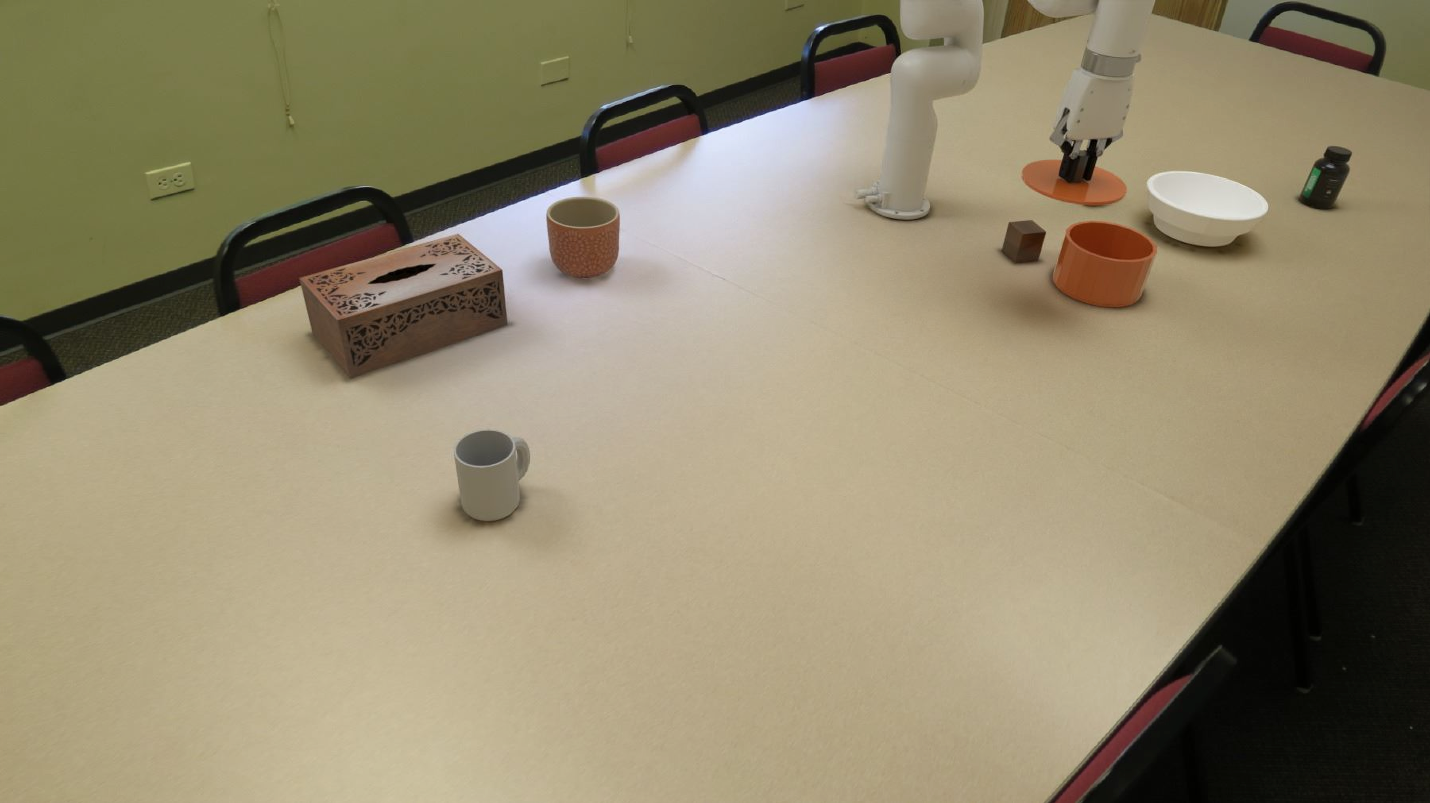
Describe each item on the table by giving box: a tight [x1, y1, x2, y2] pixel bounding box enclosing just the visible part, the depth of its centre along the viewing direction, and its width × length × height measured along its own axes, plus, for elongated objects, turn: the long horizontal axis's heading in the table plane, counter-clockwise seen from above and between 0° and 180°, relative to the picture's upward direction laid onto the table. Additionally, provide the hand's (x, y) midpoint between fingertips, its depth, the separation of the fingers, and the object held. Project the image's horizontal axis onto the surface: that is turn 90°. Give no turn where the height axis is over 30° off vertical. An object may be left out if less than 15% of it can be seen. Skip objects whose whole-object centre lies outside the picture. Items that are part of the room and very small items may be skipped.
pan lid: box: [1020, 149, 1128, 206], centre depth 153 cm, size 16×16×6 cm
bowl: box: [1146, 170, 1269, 248], centre depth 191 cm, size 22×22×8 cm
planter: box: [545, 196, 621, 279], centre depth 165 cm, size 12×12×11 cm
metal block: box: [1001, 219, 1047, 264], centre depth 179 cm, size 5×5×6 cm
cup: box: [453, 428, 531, 522], centre depth 118 cm, size 7×10×9 cm
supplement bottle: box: [1298, 145, 1353, 210], centre depth 205 cm, size 7×7×12 cm
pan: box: [1052, 220, 1158, 308], centre depth 170 cm, size 15×15×9 cm
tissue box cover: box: [299, 233, 508, 379], centre depth 147 cm, size 26×14×10 cm, turn 129°
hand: (1074, 177), depth 154 cm, fingers closed on pan lid, 2 cm apart
